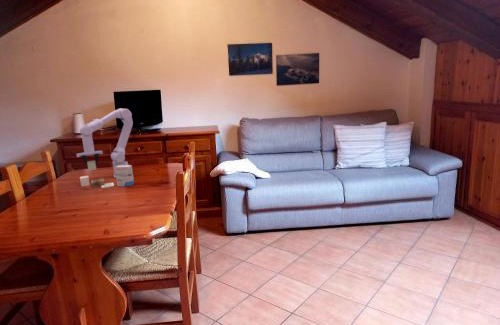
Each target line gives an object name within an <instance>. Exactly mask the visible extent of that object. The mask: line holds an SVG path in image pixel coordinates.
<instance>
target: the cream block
mask: <svg viewBox="0 0 500 325" xmlns="http://www.w3.org/2000/svg"><path fill="white" fill-rule="evenodd" d="M79 180H80V186H81V187H86V186H90V184H91V182H90V177H89V175H82V176H80V177H79Z"/></svg>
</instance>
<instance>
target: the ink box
mask: <svg viewBox="0 0 500 325" xmlns="http://www.w3.org/2000/svg"><path fill="white" fill-rule="evenodd" d="M115 172H116V178H115V179H116V185H117V187H133V185H135V179H134V173H133V172H134V171H133V165H131V164H128V165H119V166H116V167H115Z"/></svg>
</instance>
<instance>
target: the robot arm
mask: <svg viewBox="0 0 500 325" xmlns="http://www.w3.org/2000/svg"><path fill="white" fill-rule="evenodd" d="M132 115H133V113H132V112H131V111H130V110H129V108H121V107H120V108H117V109H115V110H113V111H112V112H109V113H108V114H106V115H105V116H103V117H101V118H100V119H99V118H96V119H95V118H93V119H92V121H90V122H88V123H85V125H82V126H81V127H80V128H79V133H80V135H81V139H82V146H83V152H80V153H76V157H77V158H79V157H81V159H82V161H83V162H84V164H85V166H86V168H87V169H88V164H87V161H88V160H87V156H93V157H94V161H95V163H96V167H98V160H99V156H100V155H103V154H104V153H103V150H95V146H94V140H93V135H92V134H93V132H96V131H98V130H99V129H102V128H103V127H104V124H106V123H107V122H110V121H112V120H113V119H120V120H121V122H122V123H123V126H122V128H121V132H120V136H119V138H118V142H117V144H116V147H115V148H114V149H113V151H112V152H111V153H110V158H111V160H112V168H113V177H114V178H115V179H116V172H115V167H116V166H119V165H129V163H128V161H127V160H126V161H125V159H126V157H125V155H126V147H127V143H128V141H129V137H130V135H131V132H132V128H133V124H134V121H133V117H132Z"/></svg>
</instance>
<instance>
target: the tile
mask: <svg viewBox="0 0 500 325" xmlns="http://www.w3.org/2000/svg"><path fill="white" fill-rule="evenodd" d="M104 184H105V185H103V186H101V187H100V188H101V189H107V188H111V187H112V188H113V187H115V184H114V182H107V183H104Z"/></svg>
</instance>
